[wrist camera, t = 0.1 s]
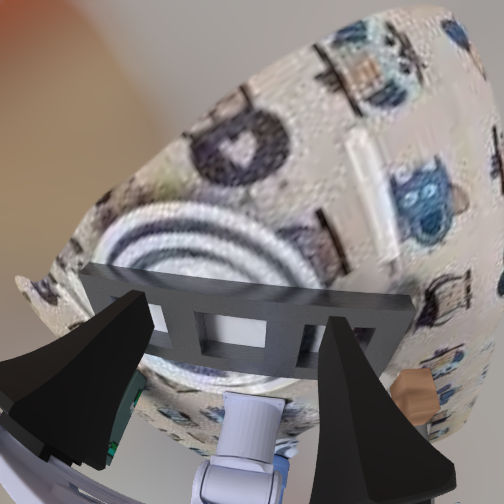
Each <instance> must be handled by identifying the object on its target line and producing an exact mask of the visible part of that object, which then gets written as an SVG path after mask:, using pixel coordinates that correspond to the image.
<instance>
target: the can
mask: <svg viewBox="0 0 504 504" xmlns="http://www.w3.org/2000/svg"><path fill="white" fill-rule="evenodd" d="M145 380H146V379H145V377H144V376H143V375H142V374H141V373H140V372H139V371H137V370H135V372H134V374H133V376H132V378H131V380H130V382H129V384H128V386H127V388H126V390H125V392H124V394H123V397H122V400H121V403H120V405H119V408H118V411H117V414H116V418H115V421H114V425H113V428H112V432H111V437H110V441H109V446H108V452H107V459H106V465H108V466H110V464H111V461H112V459H113V456H114V454H115V452H116V449H117V447H118V445H119V442H120V440H121V438H122V435H123V433H124V430H125V428H126V426H127V424H128V422H129V419H130V417H131V415H132V412H133V410H134V408H135V406H136V404H137V402H138V399H139V397H140V395H141V393H142V391H143V388H144V386H145V384H146V381H145Z"/></svg>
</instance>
